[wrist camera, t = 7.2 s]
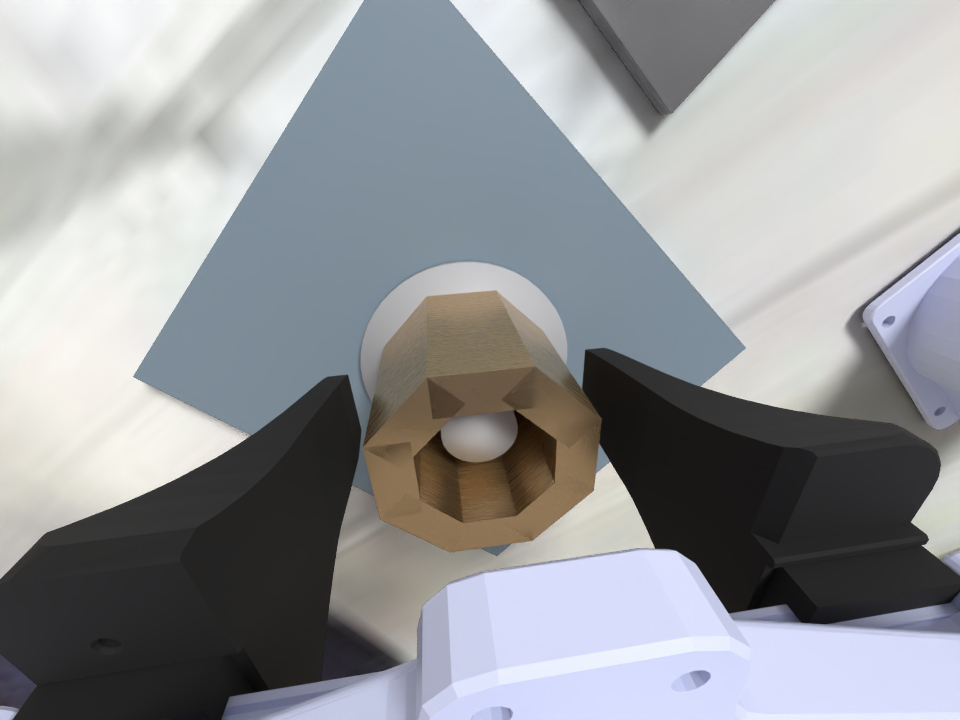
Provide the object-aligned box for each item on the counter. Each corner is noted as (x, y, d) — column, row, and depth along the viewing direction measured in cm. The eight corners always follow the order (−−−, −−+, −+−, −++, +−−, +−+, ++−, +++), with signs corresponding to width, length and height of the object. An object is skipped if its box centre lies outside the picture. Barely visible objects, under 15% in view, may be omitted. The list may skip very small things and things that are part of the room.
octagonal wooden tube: (544, 286, 12) (609, 359, 8) (540, 420, 15) (589, 532, 10) (376, 300, 12) (347, 386, 8) (401, 436, 14) (390, 560, 10)
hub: (731, 339, 16) (844, 408, 11) (494, 541, 19) (513, 648, 15) (401, -42, 9) (382, -201, 5) (148, 365, 13) (18, 463, 9)
